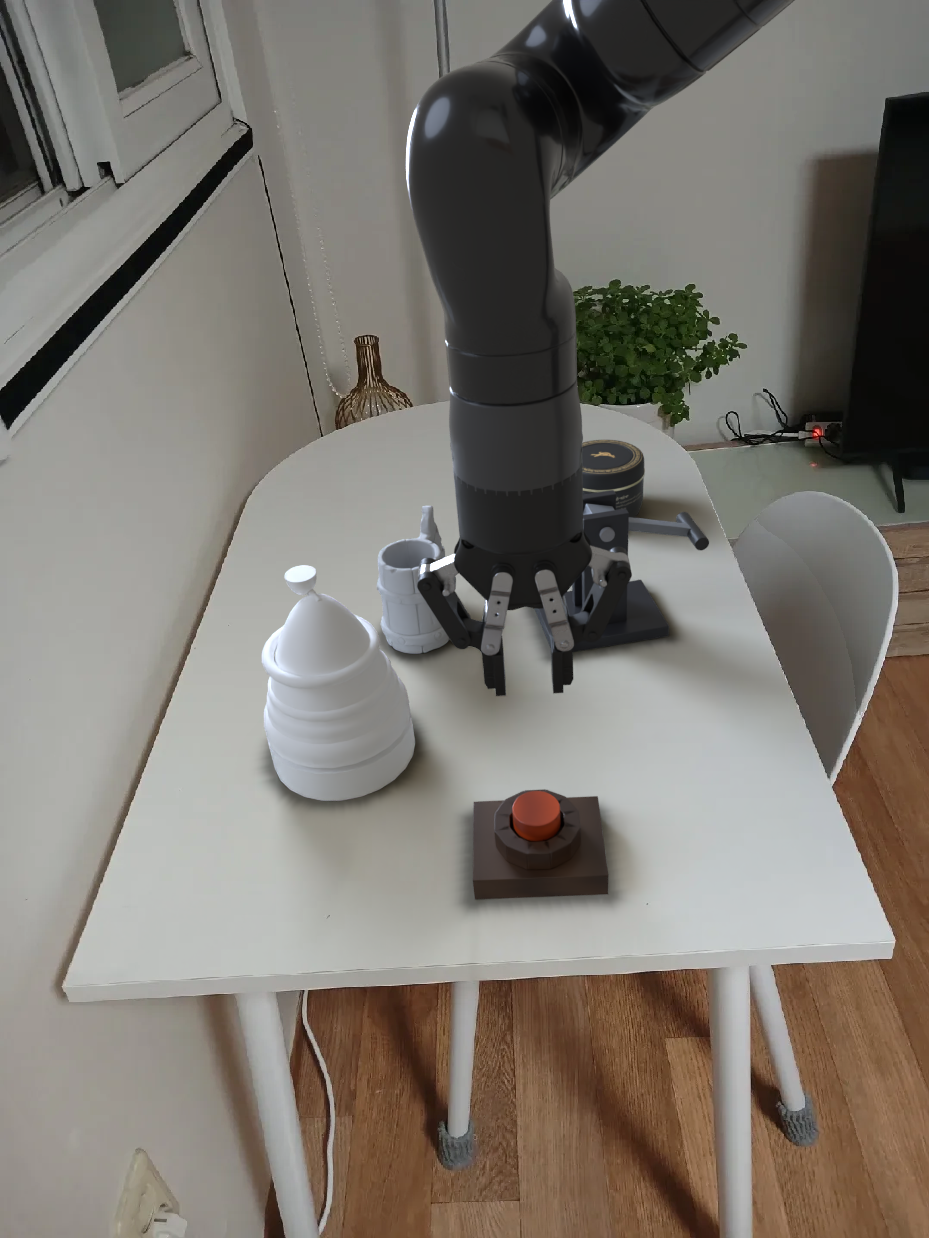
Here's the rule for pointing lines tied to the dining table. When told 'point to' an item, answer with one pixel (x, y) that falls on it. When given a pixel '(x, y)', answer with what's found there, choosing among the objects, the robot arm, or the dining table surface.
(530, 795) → the button
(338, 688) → the honey pot
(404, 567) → the mug
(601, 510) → the switch lever
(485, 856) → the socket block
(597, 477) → the jar
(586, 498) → the dark stand
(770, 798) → the dining table surface
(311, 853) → the dining table surface
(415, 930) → the dining table surface
